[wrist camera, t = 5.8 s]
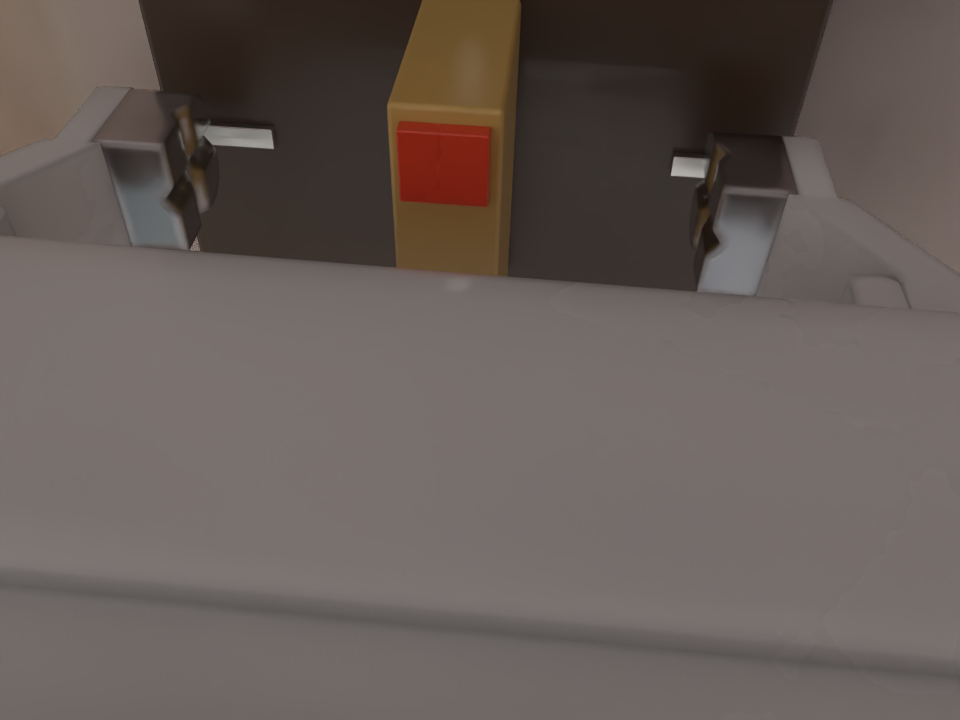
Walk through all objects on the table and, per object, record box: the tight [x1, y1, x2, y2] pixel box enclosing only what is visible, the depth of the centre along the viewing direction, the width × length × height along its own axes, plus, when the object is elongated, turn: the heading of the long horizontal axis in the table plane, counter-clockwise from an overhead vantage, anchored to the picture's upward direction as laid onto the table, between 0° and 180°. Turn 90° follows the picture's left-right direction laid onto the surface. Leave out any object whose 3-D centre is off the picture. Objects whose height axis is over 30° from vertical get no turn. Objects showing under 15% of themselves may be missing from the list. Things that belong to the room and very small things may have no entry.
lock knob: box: [387, 0, 521, 276], centre depth 13 cm, size 5×1×3 cm, turn 179°
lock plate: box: [139, 0, 833, 292], centre depth 16 cm, size 14×10×3 cm
